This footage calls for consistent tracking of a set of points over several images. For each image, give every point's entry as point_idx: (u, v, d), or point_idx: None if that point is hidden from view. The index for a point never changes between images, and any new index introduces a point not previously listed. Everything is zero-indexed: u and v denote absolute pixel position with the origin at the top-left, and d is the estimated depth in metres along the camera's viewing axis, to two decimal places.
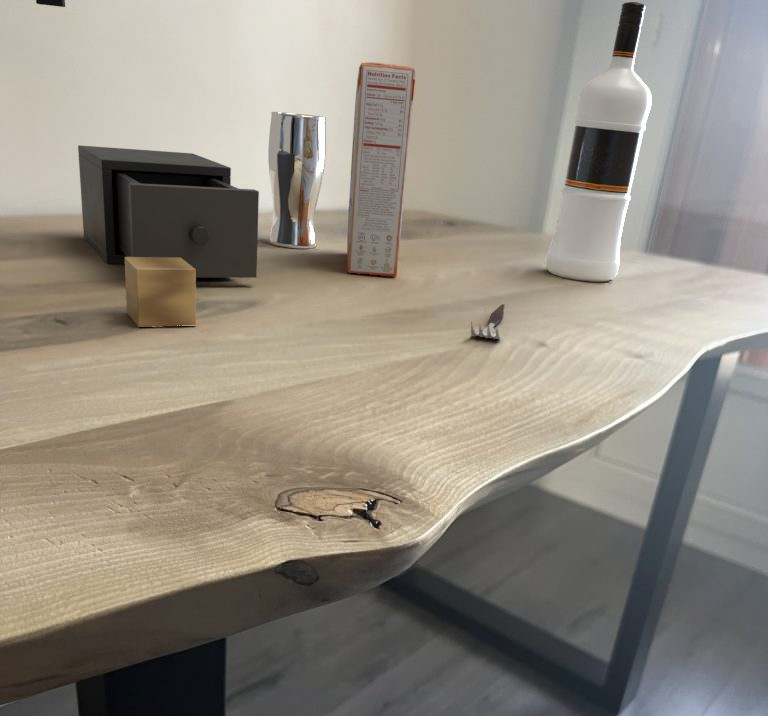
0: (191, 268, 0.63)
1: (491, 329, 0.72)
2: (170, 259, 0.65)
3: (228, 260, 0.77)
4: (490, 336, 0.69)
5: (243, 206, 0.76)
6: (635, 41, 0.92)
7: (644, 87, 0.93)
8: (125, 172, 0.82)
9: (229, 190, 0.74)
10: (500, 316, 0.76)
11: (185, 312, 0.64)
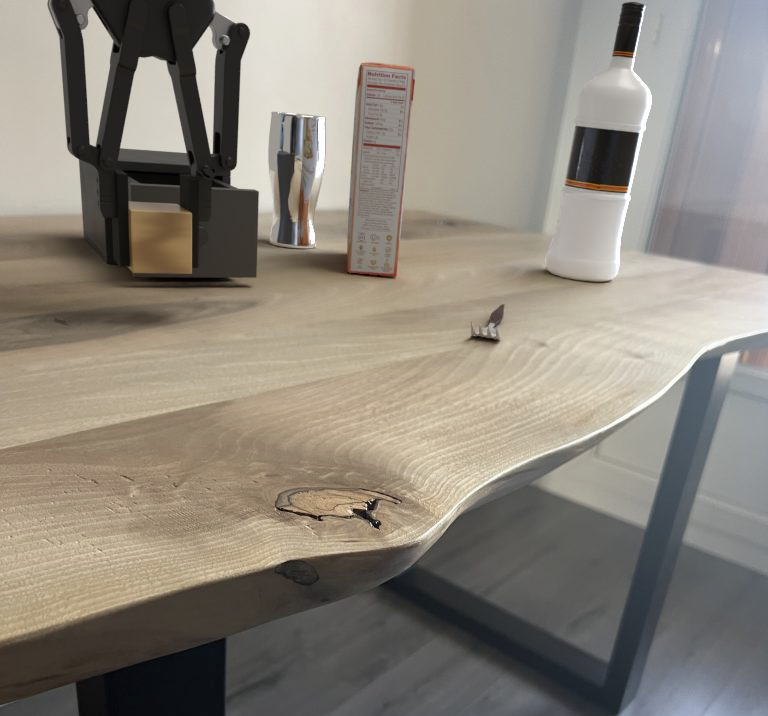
0: (187, 212, 0.61)
1: (491, 329, 0.72)
2: (166, 204, 0.63)
3: (228, 260, 0.77)
4: (490, 336, 0.69)
5: (243, 206, 0.76)
6: (635, 41, 0.92)
7: (644, 87, 0.93)
8: (125, 172, 0.82)
9: (229, 190, 0.74)
10: (500, 316, 0.76)
11: (180, 258, 0.62)
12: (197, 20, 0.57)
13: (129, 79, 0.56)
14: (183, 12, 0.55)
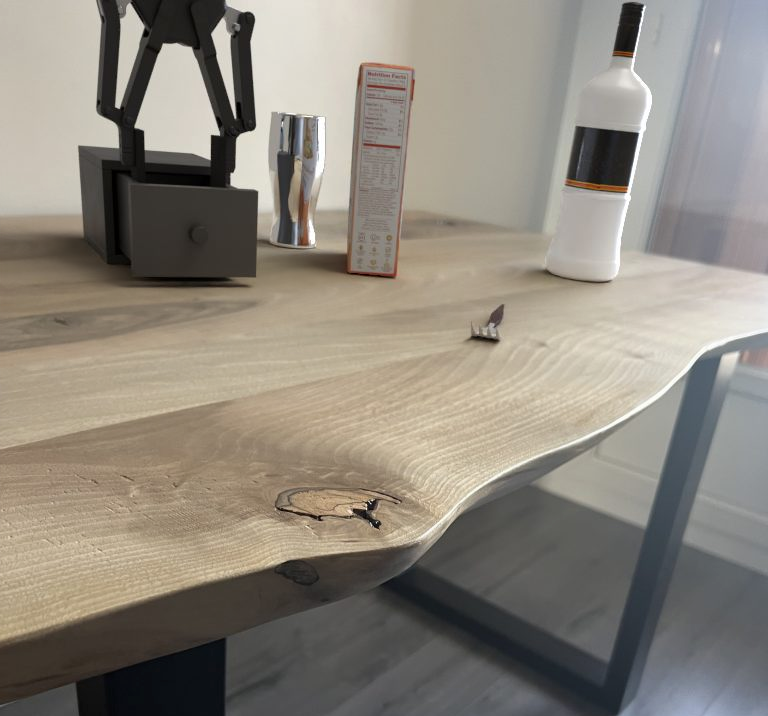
0: None
1: (491, 329, 0.72)
2: None
3: (228, 259, 0.77)
4: (490, 336, 0.69)
5: (243, 206, 0.76)
6: (635, 41, 0.92)
7: (644, 87, 0.93)
8: (125, 172, 0.82)
9: (229, 190, 0.75)
10: (500, 316, 0.76)
11: None
12: (213, 15, 0.72)
13: (153, 58, 0.72)
14: (201, 7, 0.71)
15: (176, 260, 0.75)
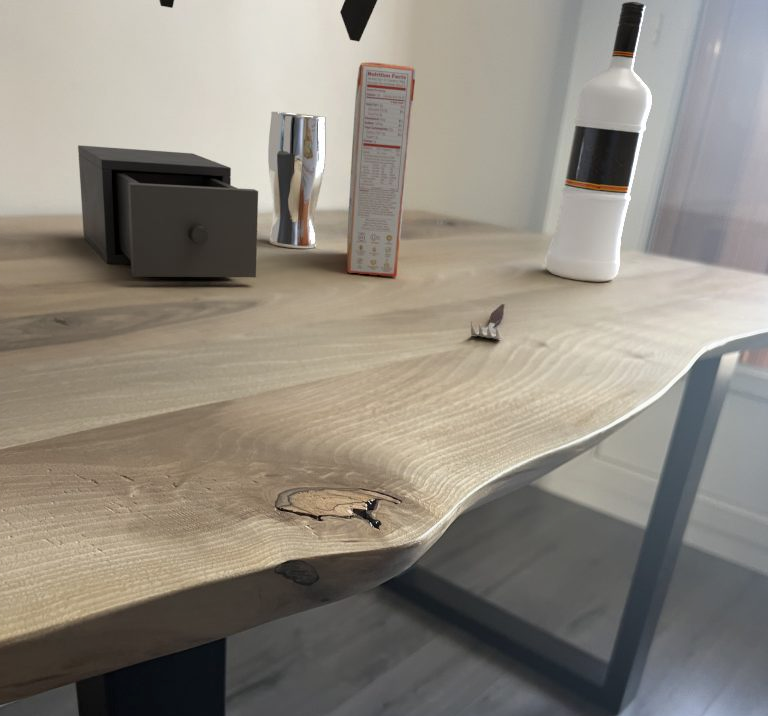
0: None
1: (491, 329, 0.72)
2: None
3: (228, 259, 0.77)
4: (490, 336, 0.69)
5: (242, 206, 0.76)
6: (635, 41, 0.92)
7: (644, 87, 0.93)
8: (125, 172, 0.82)
9: (228, 190, 0.75)
10: (500, 316, 0.76)
11: None
12: None
13: None
14: None
15: (176, 260, 0.75)
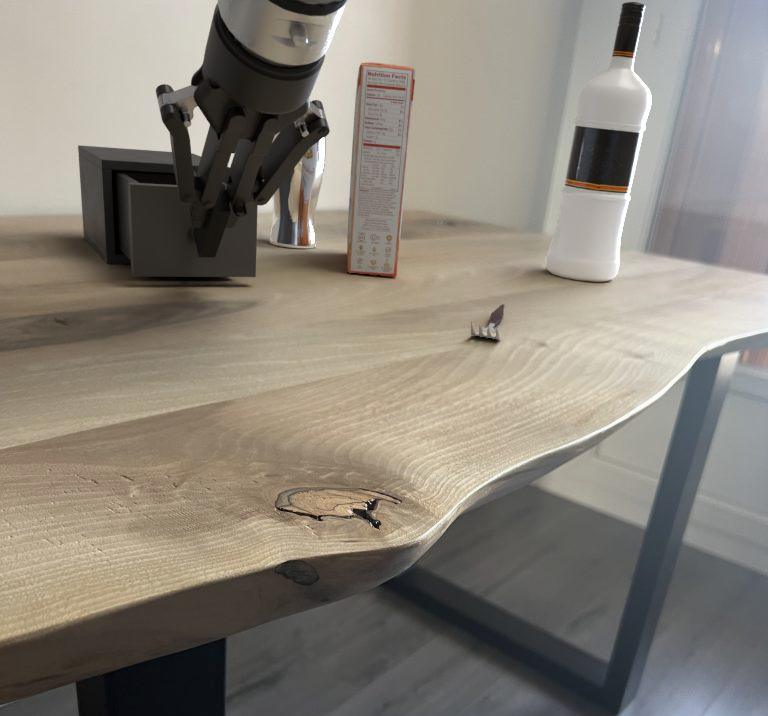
0: None
1: (491, 329, 0.72)
2: None
3: (227, 259, 0.77)
4: (490, 336, 0.69)
5: None
6: (635, 41, 0.92)
7: (644, 87, 0.93)
8: (124, 172, 0.82)
9: None
10: (500, 316, 0.76)
11: None
12: (287, 117, 0.60)
13: (227, 155, 0.62)
14: (277, 124, 0.59)
15: (176, 260, 0.75)
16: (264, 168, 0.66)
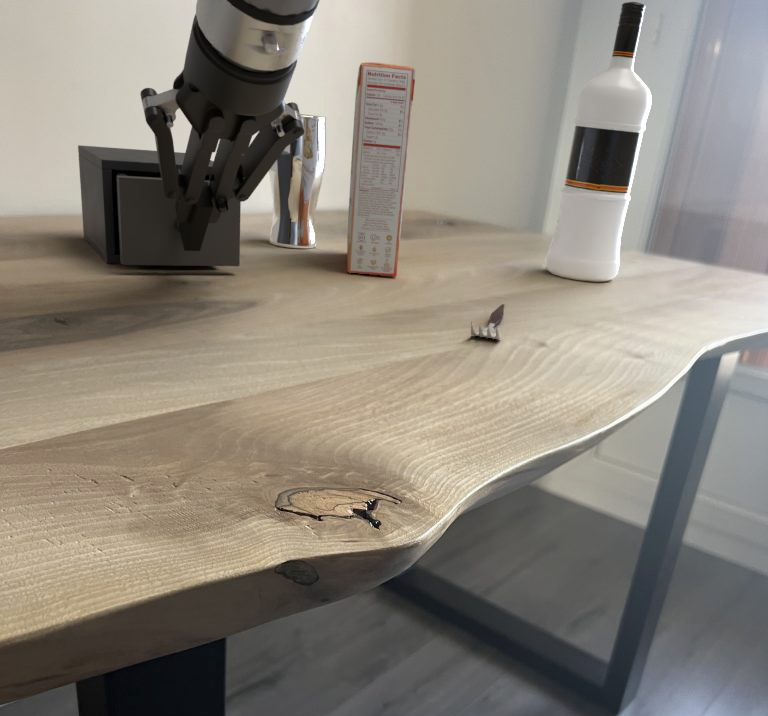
0: None
1: (491, 329, 0.72)
2: None
3: (212, 249, 0.81)
4: (490, 336, 0.69)
5: None
6: (635, 41, 0.92)
7: (644, 87, 0.93)
8: None
9: None
10: (500, 316, 0.76)
11: None
12: (264, 118, 0.64)
13: (208, 154, 0.66)
14: (254, 125, 0.63)
15: (163, 249, 0.79)
16: (244, 166, 0.70)
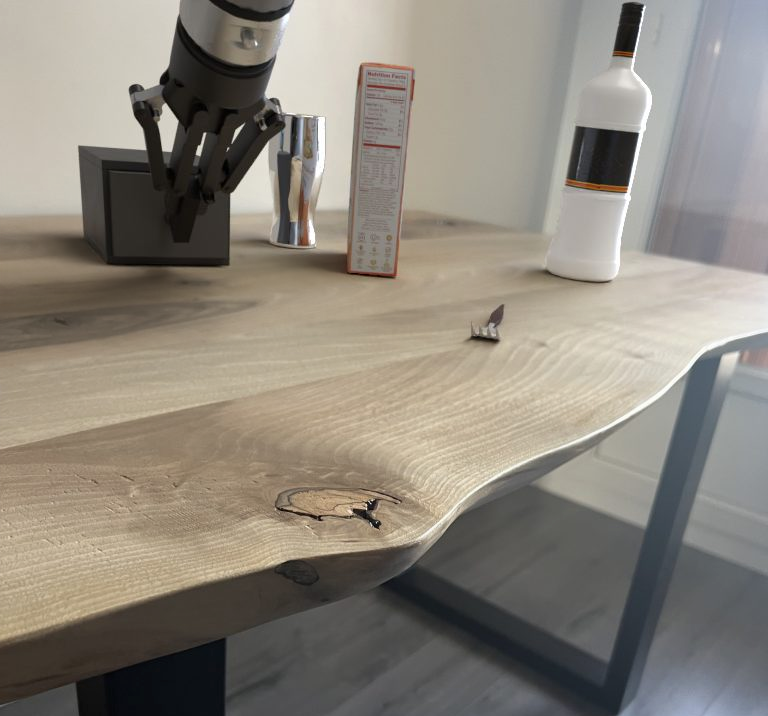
0: None
1: (491, 329, 0.72)
2: None
3: (201, 241, 0.85)
4: (490, 336, 0.69)
5: None
6: (635, 41, 0.92)
7: (644, 87, 0.93)
8: None
9: None
10: (500, 316, 0.76)
11: None
12: (246, 112, 0.67)
13: (194, 147, 0.69)
14: (237, 119, 0.66)
15: (153, 241, 0.83)
16: (230, 160, 0.73)
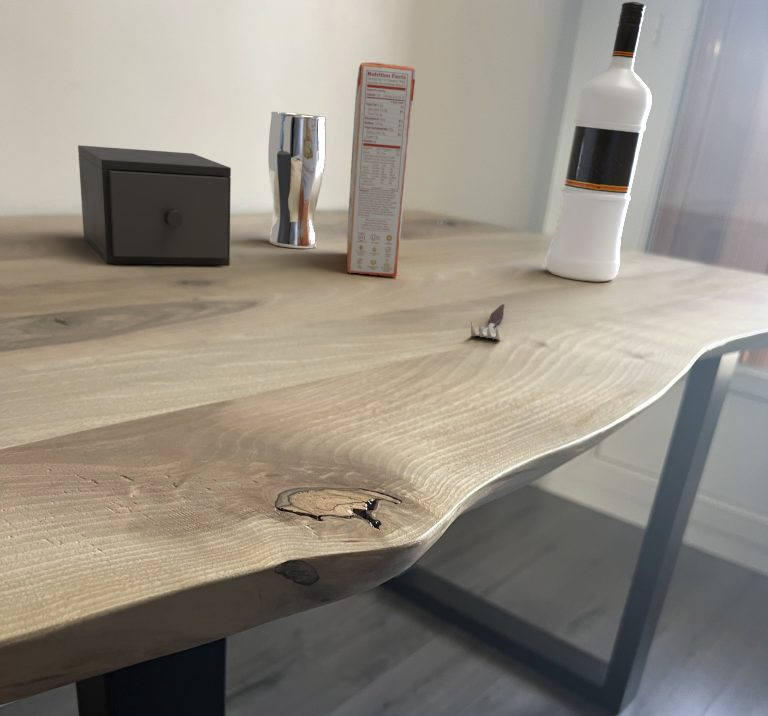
0: None
1: (491, 329, 0.72)
2: None
3: (201, 241, 0.85)
4: (490, 336, 0.69)
5: (214, 192, 0.83)
6: (635, 41, 0.92)
7: (644, 87, 0.93)
8: None
9: (201, 177, 0.82)
10: (500, 316, 0.76)
11: None
12: None
13: None
14: None
15: (153, 241, 0.83)
16: None
